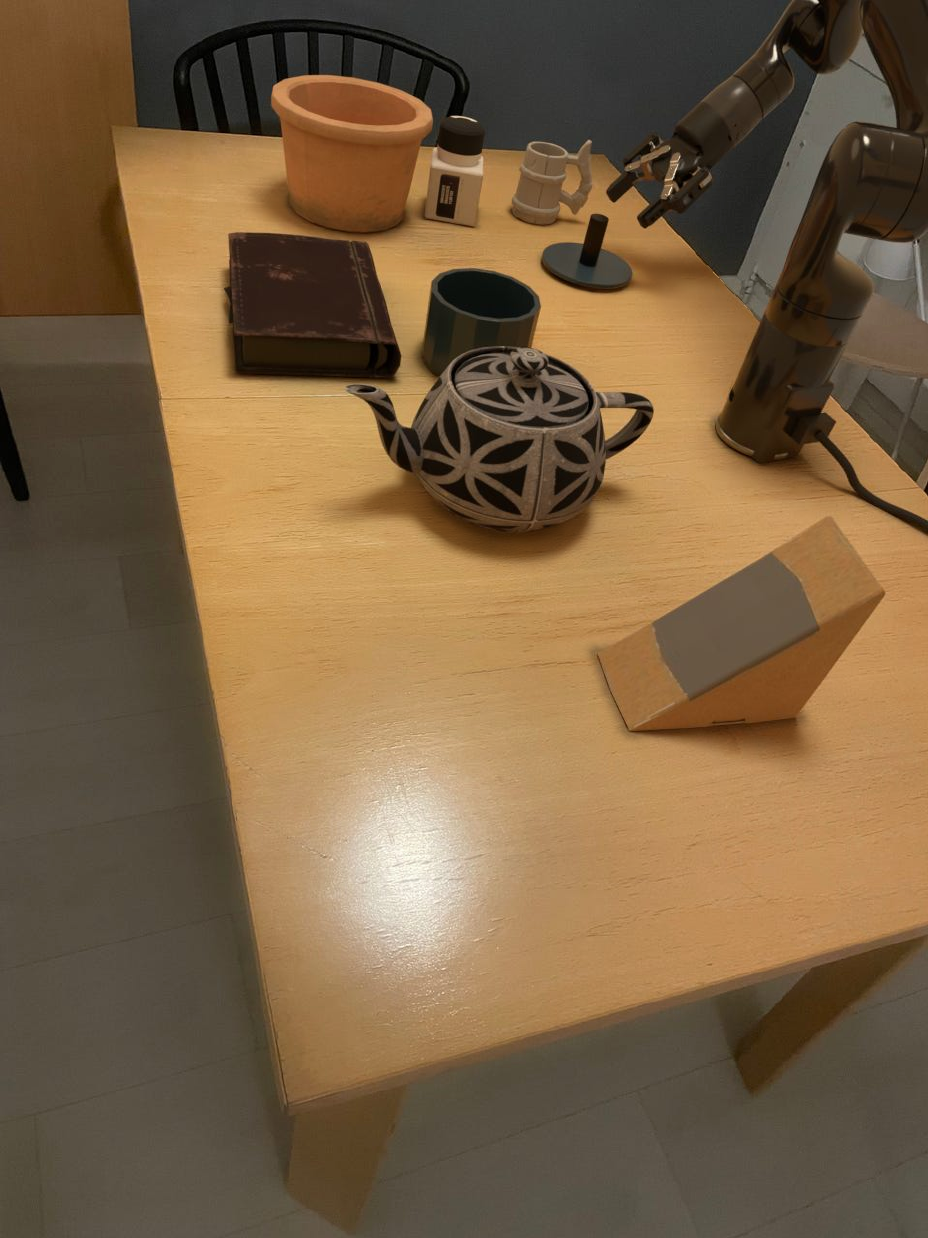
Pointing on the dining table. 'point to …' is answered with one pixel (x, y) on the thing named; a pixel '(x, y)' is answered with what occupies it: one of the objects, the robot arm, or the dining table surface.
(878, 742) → the dining table surface
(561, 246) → the lid
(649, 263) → the dining table surface
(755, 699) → the sandwich container
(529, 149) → the mug
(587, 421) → the teapot
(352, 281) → the diary
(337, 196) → the pottery
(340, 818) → the dining table surface
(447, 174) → the container
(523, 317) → the pot
